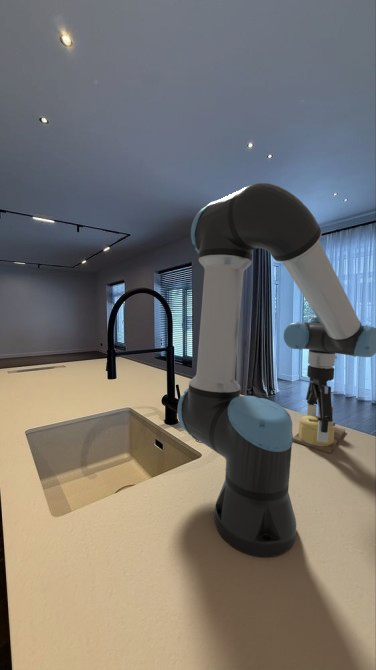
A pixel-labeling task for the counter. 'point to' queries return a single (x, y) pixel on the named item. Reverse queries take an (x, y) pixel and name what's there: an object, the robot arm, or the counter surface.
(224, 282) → the robot arm
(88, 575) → the counter surface
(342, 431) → the post board
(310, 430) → the cap
